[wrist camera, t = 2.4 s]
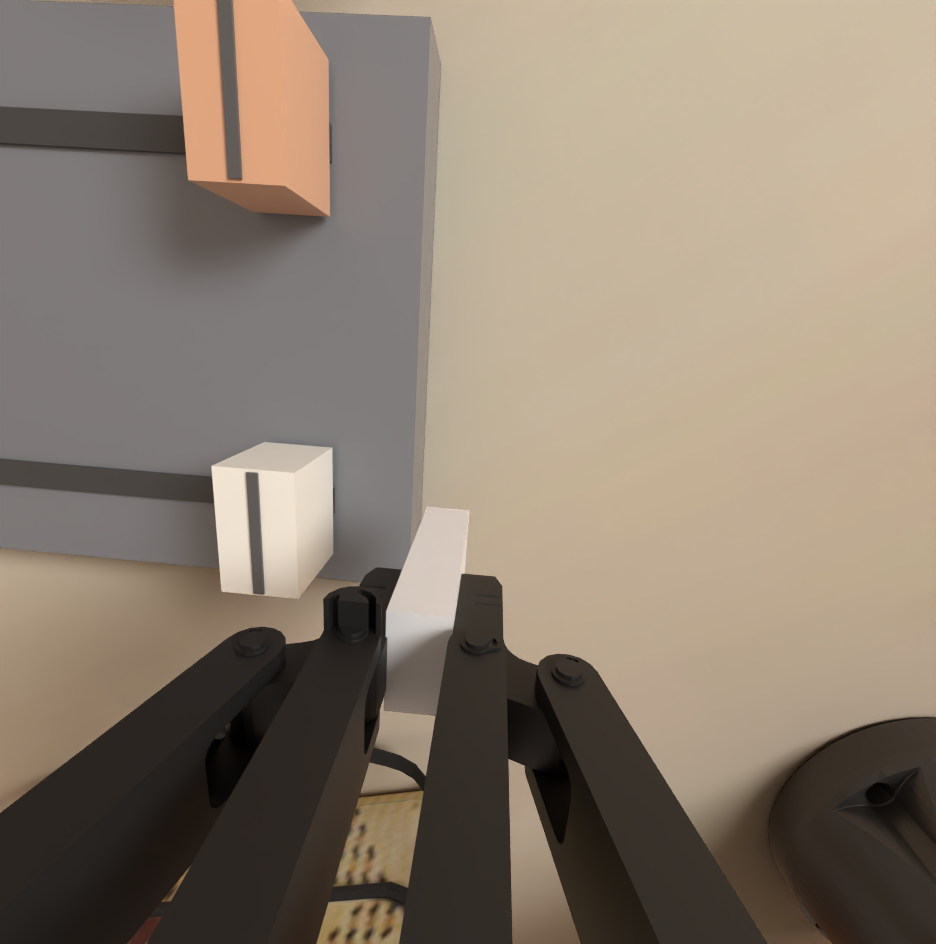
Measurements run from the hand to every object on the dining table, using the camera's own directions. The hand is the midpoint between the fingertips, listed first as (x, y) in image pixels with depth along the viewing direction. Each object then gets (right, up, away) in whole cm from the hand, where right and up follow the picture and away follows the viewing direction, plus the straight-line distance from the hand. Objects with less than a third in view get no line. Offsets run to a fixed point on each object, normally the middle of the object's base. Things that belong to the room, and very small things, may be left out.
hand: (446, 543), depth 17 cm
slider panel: (-14, +10, +6) cm, 18 cm away
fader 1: (-6, +15, +1) cm, 16 cm away
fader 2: (-7, +1, +4) cm, 8 cm away
